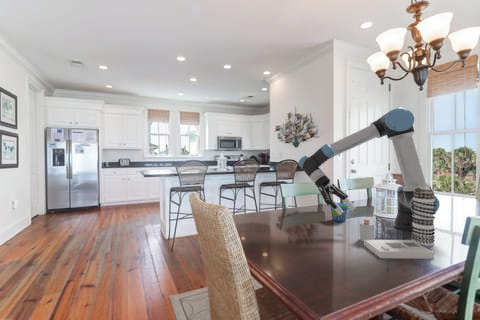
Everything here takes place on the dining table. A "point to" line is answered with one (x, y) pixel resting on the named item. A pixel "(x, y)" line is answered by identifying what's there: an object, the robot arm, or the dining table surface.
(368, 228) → the egg topped pedestal
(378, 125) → the robot arm
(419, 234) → the decorative candle
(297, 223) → the dining table surface
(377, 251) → the socket plate
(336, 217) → the snack cup
